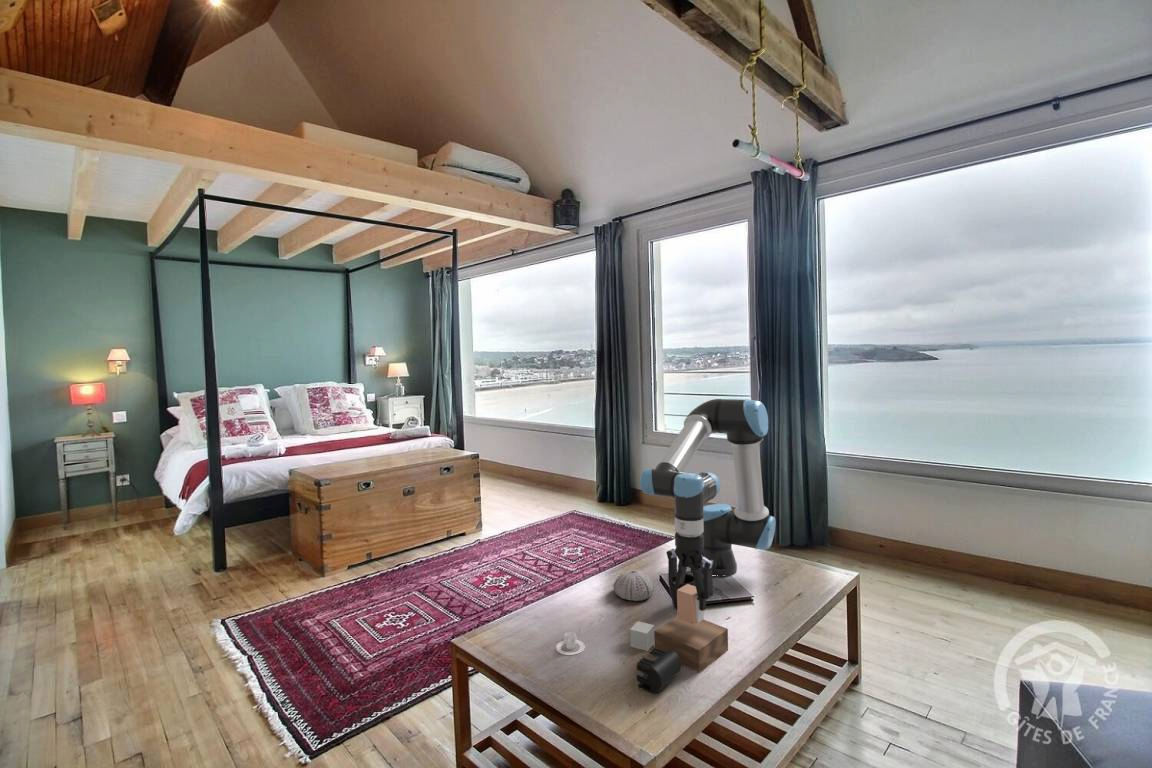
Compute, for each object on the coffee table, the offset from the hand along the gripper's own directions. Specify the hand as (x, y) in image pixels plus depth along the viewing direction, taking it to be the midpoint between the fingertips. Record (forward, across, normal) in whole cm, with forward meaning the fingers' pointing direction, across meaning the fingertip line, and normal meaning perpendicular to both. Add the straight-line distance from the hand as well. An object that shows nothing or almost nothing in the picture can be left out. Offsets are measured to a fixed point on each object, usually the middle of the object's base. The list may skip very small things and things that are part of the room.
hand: (690, 617), depth 149 cm
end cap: (+10, +2, -17) cm, 20 cm away
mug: (+10, -14, +19) cm, 26 cm away
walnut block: (+10, 0, 0) cm, 10 cm away
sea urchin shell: (+10, -33, +16) cm, 38 cm away
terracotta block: (0, 0, 0) cm, 0 cm away
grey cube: (+10, -12, -6) cm, 17 cm away
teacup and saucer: (+10, -25, -17) cm, 32 cm away
